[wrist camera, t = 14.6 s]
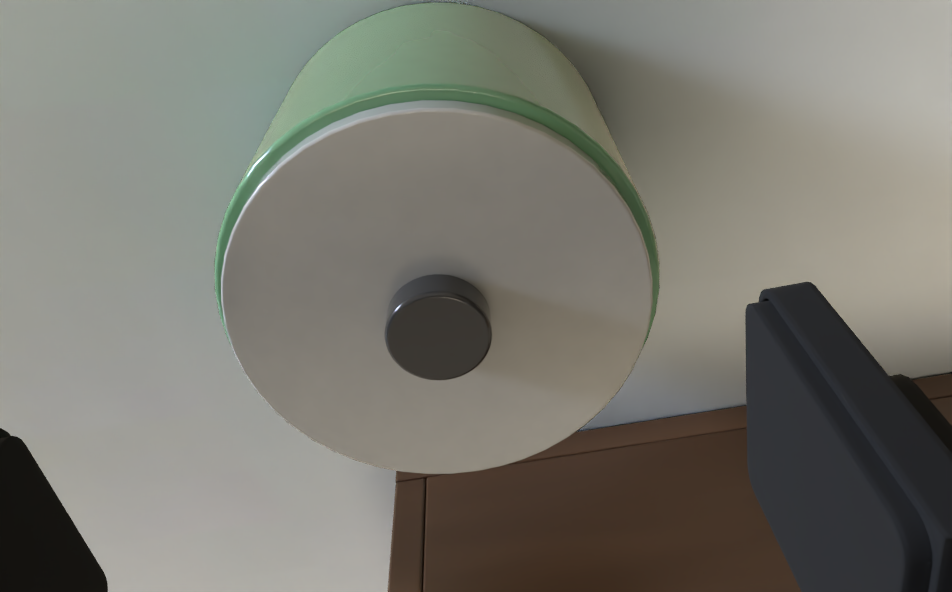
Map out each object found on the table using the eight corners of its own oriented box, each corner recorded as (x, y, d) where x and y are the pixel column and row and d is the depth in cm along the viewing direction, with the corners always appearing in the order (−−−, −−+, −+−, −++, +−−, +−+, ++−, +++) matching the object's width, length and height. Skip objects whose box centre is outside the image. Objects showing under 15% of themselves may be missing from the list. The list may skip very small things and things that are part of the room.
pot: (227, 39, 16) (115, 163, 10) (587, -32, 15) (661, 61, 10) (326, 333, 19) (280, 536, 14) (620, 284, 19) (687, 474, 14)
